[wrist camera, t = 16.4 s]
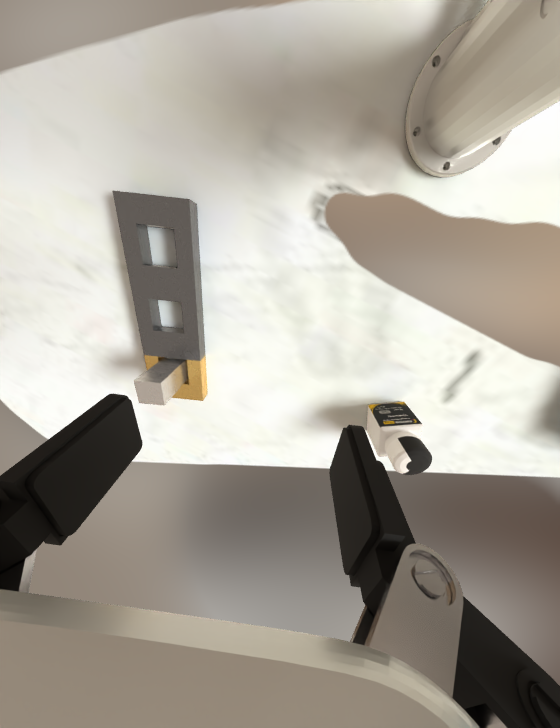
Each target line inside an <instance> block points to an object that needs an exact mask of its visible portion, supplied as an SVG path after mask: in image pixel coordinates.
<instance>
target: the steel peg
mask: <svg viewBox="0 0 560 728" xmlns="http://www.w3.org/2000/svg"><path fill="white" fill-rule="evenodd" d="M188 378H189V377H188V366H187V360H186V359H177V358H167V357H164V358H163V359H162V360H160V361H159V362H158V363H156V364H155V365H154V366H152V367H151V368H150V369H148V370H147V371H146V372H145V373H143V374H142V375H141V376H139V377H138V378H137V379H135V380H134V384H135V388H136V392H137V396H138V400H139V403H145V404H156V405H166V403H167V402H168V401H169V400H170V399H171V398H172V397H173V395H174V394H175V393H176V392H177V391H178V390H179V388H180V387H181V386H182V385H183V384H184V383H185V382H186V380H187V379H188Z"/></svg>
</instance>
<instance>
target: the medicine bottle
mask: <svg viewBox="0 0 560 728" xmlns="http://www.w3.org/2000/svg"><path fill="white" fill-rule="evenodd" d="M422 429H423V424H422V423H421V422H420V421H419V420H418V418H417V417H416V416H415V415H414V413H413V412H412V411H411V410H410V409H409V407H408V406H407V405H406V404H405V402H392V403H380V404H369V405H368V414H367V432H368V434H369V437H370V439H371V441H372V443H373V445H374V448H375V450H376V452H377V454H378V456H379V457H384V456H388V457H389V459H390V461H391V463H392V465H393V467H394V469H395V470H396V471H397V472H399V473H402V474H405V475H414V474H418V473H421V472H423V471H425V470H426V469H427V468H428V467H429V466H430V464H431V462H432V455H431V453H430V452H429V451H428V449H427V448H426V447H425V445H424V444H423V443H422V441H421V440H420V439H421V434H422Z"/></svg>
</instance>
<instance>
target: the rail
mask: <svg viewBox="0 0 560 728" xmlns="http://www.w3.org/2000/svg"><path fill="white" fill-rule="evenodd" d="M113 195H114V200H115V206H116V211H117V216H118V221H119V227H120V232H121V237H122V242H123V247H124V253H125V258H126V263H127V268H128V274H129V279H130V284H131V289H132V294H133V300H134V305H135V310H136V315H137V321H138V326H139V331H140V336H141V341H142V347H143V352H144V357H145V362H146V368H147V370H148V369H150V368H151V367H152V366H154V365H155V364H156V363H158V362H159V361H160V360H162V359H163V358H164V357H167V358H177V359H186V360H187V366H188V377H189V378H188V379H187V380H186V382H185V383H184V384H183V385H182V386H181V387H180V388H179V390H178V391H177V392H176V393H175V394H174V395H173V397H172V398H181V399H190V400H200V401H203V400H204V398H205V397H206V395H207V377H206V359H205V342H204V324H203V307H202V289H201V271H200V254H199V236H198V219H197V204H196V203H194V202H193V201H191V200H190V199H182V198H173V197H164V196H155V195H146V194H137V193H129V192H120V191H113ZM147 226H149V227H158V228H167V229H174V234H175V245H176V255H177V265H178V268H177V267H167V266H158V265H152V258H151V251H150V244H149V237H148V230H147ZM158 300H166V301H176V302H181V306H182V316H183V326H184V329H181V328H172V327H163V326H161V320H160V313H159V306H158Z"/></svg>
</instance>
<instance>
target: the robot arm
mask: <svg viewBox="0 0 560 728" xmlns="http://www.w3.org/2000/svg"><path fill="white" fill-rule="evenodd" d="M559 101H560V0H488V1H487V3H486V4H485V5H484V7H483V8H482V9H481V11H480V12H479V13H478V15H477V16H476V17H475V18H474V19H472V20H469V21H467V22H466V23H464V24H462V25H461V26H459V27H458V28H456V29H455V30H454V31H453V32H452V33H451V34H449V35H448V36H447V37H446V38H445V39H444V40H443V41H442V42H441V44H440V45H439V46H438V47H437V48H436V50H435V51H434V52H433V53H432V55H431V56H430V58H429V59H428V61H427V62H426V64H425V65H424V67H423V69H422V71H421V73H420V74H419V76H418V78H417V80H416V82H415V85H414V88H413V90H412V93H411V96H410V100H409V104H408V108H407V114H406V123H405V125H406V140H407V145H408V149H409V151H410V154H411V156H412V158H413V160H414V161H415V163H416V164H417V165H418V166H419V167H420V168H421V169H422V170H423V171H424V172H426V173H428V174H430V175H433V176H438V177H452V176H455V175H459V174H462V173H464V172H466V171H468V170H470V169H472V168H474V167H476V166H477V165H479V164H480V163H482V162H483V161H485V160H486V159H487V158H488V157H489V156H491V155H492V154H493V153H494V152H495V151H496V150H497V149H498V148H499V147H500V145H501V144H502V143H503V142H504V140H505V139H506V138H507V136H508V135H509V133H510V132H511V131H512V129H513V128H515V127H517V126H518V125H520V124H522V123H523V122H525V121H527V120H528V119H530V118H532V117H533V116H535V115H537V114H538V113H540V112H542V111H544V110H545V109H547V108H549V107H550V106H552V105H554V104H555V103H557V102H559ZM413 133H414V134H415V136H414V135H413ZM443 167H444V170H443ZM141 448H142V440H141V436H140V432H139V428H138V424H137V421H136V417H135V413H134V409H133V405H132V402H131V400H130V399H129V398H128V397H127V396H125V395H119V394H109V395H107V396H106V397H105V398H103V399H102V400H101V401H99V402H98V403H97V404H95V405H94V406H93V407H91V408H90V409H89V410H87V411H86V412H85V413H83V414H82V415H81V416H79V417H78V418H77V419H75V420H74V421H73V422H71V423H70V424H69V425H67V426H66V427H65V428H63V429H62V430H61V431H59V432H58V433H57V434H55V435H54V436H53V437H51V438H50V439H49V440H47V441H46V442H45V443H43V444H42V445H41V446H39V447H38V448H37V449H35V450H34V451H33V452H32V453H30V454H29V455H27V456H26V457H25V458H24V459H22V460H21V461H19V462H18V463H17V464H15V465H14V466H13V467H11V468H10V469H9V470H8V471H6V472H5V473H3V474H2V475H1V476H0V728H560V686H559V685H558V684H557V683H556V682H555V681H554V680H553V679H552V678H551V677H550V676H549V675H548V674H547V673H546V672H545V671H544V670H543V669H542V668H541V667H540V666H538V665H537V664H536V663H535V662H534V661H533V660H532V659H531V658H530V657H529V656H528V655H527V654H525V653H524V652H523V651H522V650H521V649H520V648H519V647H518V646H517V645H516V644H515V643H514V642H512V641H511V640H510V639H509V638H508V637H507V636H506V635H505V634H504V633H502V631H501V630H499V629H498V628H497V627H496V626H495V625H494V624H493V623H492V622H491V621H490V620H489V619H487V618H486V617H485V616H484V615H483V614H482V613H481V612H480V611H479V610H478V609H477V608H476V607H474V606H473V605H472V604H471V603H470V602H469V601H468V600H467V599H466V598H465V597H463V592H462V589H461V586H460V583H459V581H458V579H457V578H456V575H455V574H454V572H453V570H452V569H451V568H450V566H449V565H448V564H447V562H446V561H445V560H444V559H443V558H442V557H441V556H440V555H438V554H437V553H436V552H435V551H433V550H432V549H430V548H429V547H427V546H424V545H421V544H416V543H415V541H414V538H413V536H412V533H411V531H410V528H409V526H408V524H407V521H406V519H405V516H404V514H403V511H402V509H401V506H400V504H399V502H398V499H397V497H396V494H395V492H394V489H393V487H392V485H391V482H390V480H389V477H388V475H387V472H386V470H385V467H384V466H383V464H382V463H381V462H380V461H376V458H375V456H374V453H373V450H372V448H371V445H370V443H369V440H368V438H367V435H366V432H365V430H364V428H363V427H362V426H355V425H348V427H347V428H343V430H342V434H341V437H340V440H339V443H338V446H337V449H336V452H335V455H334V458H333V461H332V464H331V467H330V481H331V488H332V495H333V501H334V508H335V515H336V522H337V528H338V535H339V542H340V548H341V555H342V562H343V568H344V572H345V574H346V575H349V576H350V583H351V586H354V587H360V588H361V593H362V598H363V602H364V603H365V607H364V609H363V611H362V614H361V616H360V619H359V621H358V624H357V626H356V628H355V631H354V633H353V635H352V638H351V640H350V642H348V641H344V640H339V639H335V638H329V637H323V636H318V635H312V634H306V633H300V632H294V631H289V630H282V629H276V628H270V627H263V626H255V625H249V624H243V623H236V622H229V621H222V620H216V619H208V618H202V617H195V616H188V615H181V614H174V613H168V612H161V611H154V610H147V609H139V608H133V607H125V606H118V605H111V604H104V603H97V602H90V601H82V600H75V599H68V598H61V597H54V596H46V595H39V594H32V593H28V592H29V587H30V581H31V576H32V571H33V565H34V560H35V555H36V549H37V548H38V547H39V546H40V545H41V543H42V542H43V541H44V542H45V543H47V544H54V545H62V543H63V542H64V541H65V540H66V538H67V537H68V536H69V535H72V534H73V533H74V532H76V530H77V529H78V528H79V527H80V526H81V524H82V523H83V522H84V520H85V519H86V518H87V517H88V516H89V514H90V513H91V512H92V510H93V509H94V508H95V507H96V505H97V504H98V503H99V502H100V500H101V499H102V498H103V497H104V495H105V494H106V493H107V491H108V490H109V489H110V488H111V486H112V485H113V484H114V483H115V482H116V480H117V479H118V478H119V476H120V475H121V474H122V473H123V471H124V470H125V469H126V468H127V466H128V465H129V464H130V463H131V461H132V460H133V459H134V458H135V456H136V455H137V454H138V453H139V451H140V450H141Z"/></svg>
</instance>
